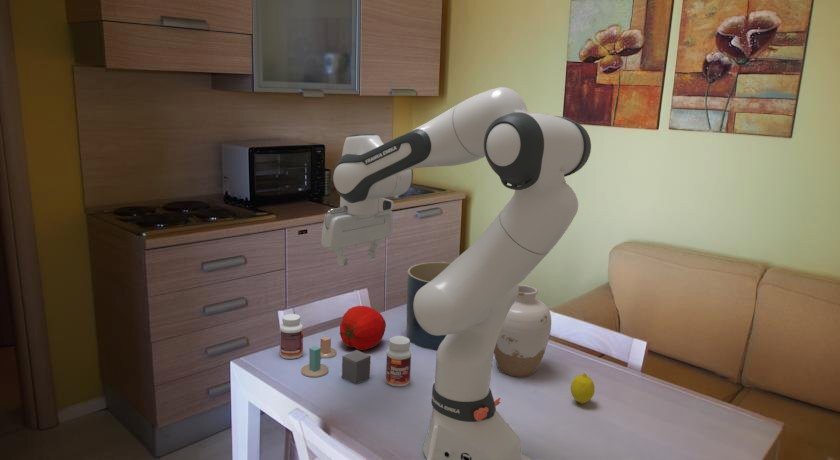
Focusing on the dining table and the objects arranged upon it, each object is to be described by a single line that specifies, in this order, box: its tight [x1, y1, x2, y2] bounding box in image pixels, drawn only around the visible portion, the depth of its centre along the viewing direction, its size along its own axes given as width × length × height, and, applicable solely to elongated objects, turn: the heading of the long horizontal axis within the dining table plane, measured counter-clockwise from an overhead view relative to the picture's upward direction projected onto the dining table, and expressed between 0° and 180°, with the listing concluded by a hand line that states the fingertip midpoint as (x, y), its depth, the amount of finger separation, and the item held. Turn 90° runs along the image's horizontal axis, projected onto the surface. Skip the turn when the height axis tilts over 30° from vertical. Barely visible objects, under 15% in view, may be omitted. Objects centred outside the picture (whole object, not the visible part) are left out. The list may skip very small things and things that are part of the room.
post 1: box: [300, 345, 330, 379], centre depth 156 cm, size 7×7×6 cm
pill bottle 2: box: [385, 335, 412, 387], centre depth 153 cm, size 6×6×11 cm
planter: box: [405, 261, 452, 351], centre depth 181 cm, size 22×22×20 cm
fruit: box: [570, 372, 595, 405], centre depth 146 cm, size 6×6×8 cm
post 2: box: [319, 336, 337, 359], centre depth 167 cm, size 6×6×4 cm
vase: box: [493, 284, 552, 378], centre depth 161 cm, size 16×16×23 cm
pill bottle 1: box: [279, 313, 304, 360], centre depth 165 cm, size 6×6×11 cm
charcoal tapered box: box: [341, 349, 371, 385], centre depth 154 cm, size 5×5×6 cm
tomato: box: [338, 305, 387, 351], centre depth 173 cm, size 13×13×13 cm
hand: (357, 261), depth 143 cm, fingers open, 8 cm apart
